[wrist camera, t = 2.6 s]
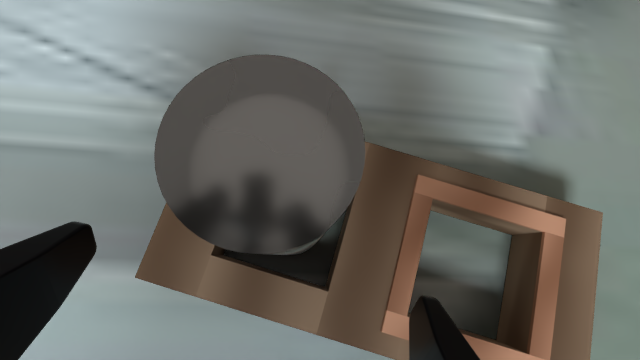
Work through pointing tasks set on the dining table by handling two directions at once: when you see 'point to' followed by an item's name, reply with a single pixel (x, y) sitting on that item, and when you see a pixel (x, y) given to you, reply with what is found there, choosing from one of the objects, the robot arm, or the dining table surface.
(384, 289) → the brown flat block
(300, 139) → the peg
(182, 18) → the dining table surface
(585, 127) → the dining table surface
